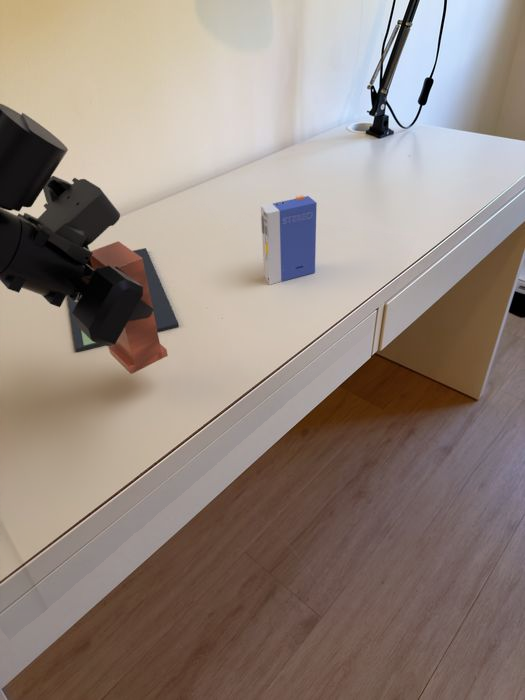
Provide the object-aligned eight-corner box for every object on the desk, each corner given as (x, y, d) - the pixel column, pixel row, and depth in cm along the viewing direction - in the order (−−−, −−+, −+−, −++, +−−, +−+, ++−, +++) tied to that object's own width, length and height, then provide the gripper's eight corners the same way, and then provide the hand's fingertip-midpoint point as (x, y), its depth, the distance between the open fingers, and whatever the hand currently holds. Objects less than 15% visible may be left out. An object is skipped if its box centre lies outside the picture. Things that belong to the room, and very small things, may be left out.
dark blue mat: (179, 326, 73) (178, 321, 73) (76, 352, 70) (74, 347, 69) (146, 250, 91) (145, 246, 90) (63, 268, 87) (61, 263, 87)
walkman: (307, 265, 85) (308, 193, 77) (315, 273, 83) (316, 200, 75) (262, 276, 83) (258, 203, 75) (269, 284, 81) (266, 211, 73)
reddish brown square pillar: (131, 374, 58) (104, 272, 50) (110, 353, 61) (81, 254, 53) (167, 355, 61) (148, 255, 52) (145, 336, 64) (124, 238, 56)
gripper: (96, 193, 39) (227, 270, 51) (8, 138, 50) (132, 212, 62) (25, 322, 40) (170, 367, 52) (-45, 240, 51) (87, 293, 64)
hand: (138, 302), depth 58 cm, fingers closed on reddish brown square pillar, 5 cm apart
